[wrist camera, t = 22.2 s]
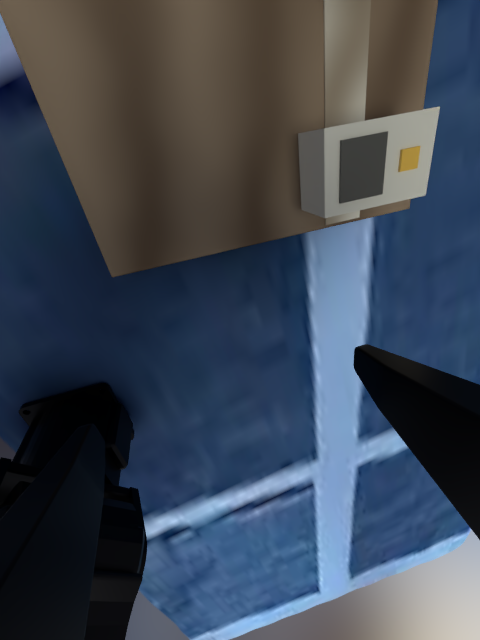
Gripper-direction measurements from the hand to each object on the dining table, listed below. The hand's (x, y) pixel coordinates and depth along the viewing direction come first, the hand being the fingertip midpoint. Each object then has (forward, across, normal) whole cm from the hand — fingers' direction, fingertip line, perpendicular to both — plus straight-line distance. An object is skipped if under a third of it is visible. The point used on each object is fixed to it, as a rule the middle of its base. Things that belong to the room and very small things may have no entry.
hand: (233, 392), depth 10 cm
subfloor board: (+12, -5, -10) cm, 16 cm away
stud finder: (+10, -10, -5) cm, 15 cm away
